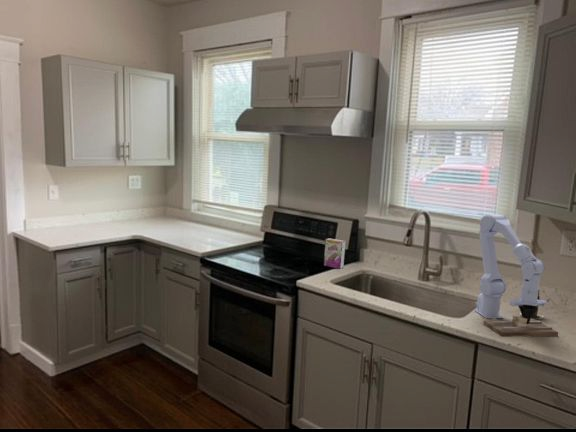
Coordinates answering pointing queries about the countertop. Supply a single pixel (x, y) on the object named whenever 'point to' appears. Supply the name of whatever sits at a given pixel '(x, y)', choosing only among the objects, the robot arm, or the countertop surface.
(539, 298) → the condiment
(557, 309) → the countertop surface
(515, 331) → the console
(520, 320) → the fader tab
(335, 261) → the candy bar box
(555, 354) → the countertop surface
